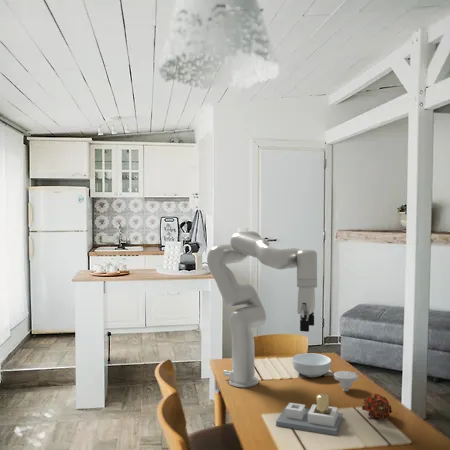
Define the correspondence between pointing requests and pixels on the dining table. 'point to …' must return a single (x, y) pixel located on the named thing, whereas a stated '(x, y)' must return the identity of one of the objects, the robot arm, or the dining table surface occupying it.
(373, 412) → the dragon fruit
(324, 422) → the socket board
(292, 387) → the dining table surface
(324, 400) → the gold rounded cylinder
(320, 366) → the cereal bowl
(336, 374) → the showerhead
